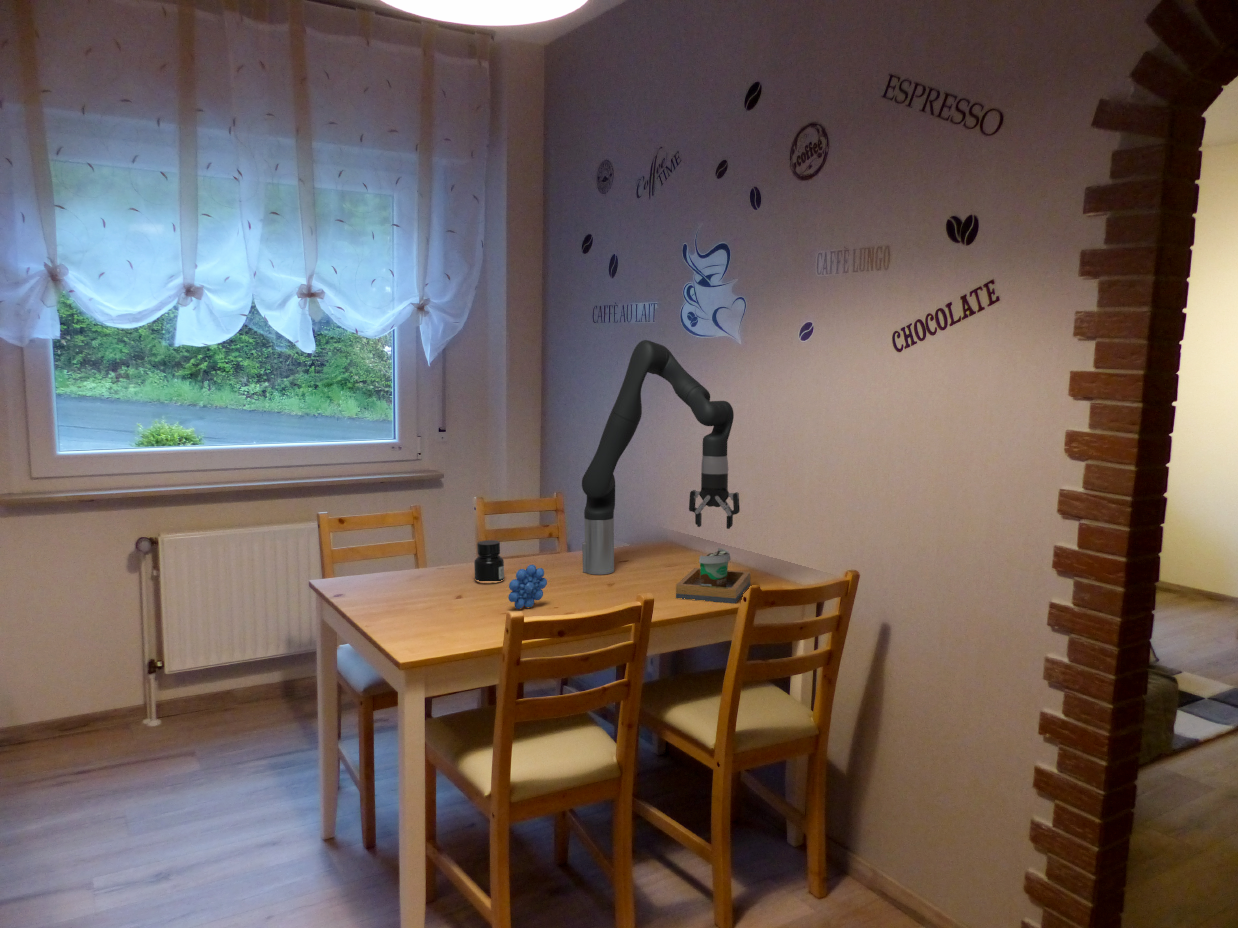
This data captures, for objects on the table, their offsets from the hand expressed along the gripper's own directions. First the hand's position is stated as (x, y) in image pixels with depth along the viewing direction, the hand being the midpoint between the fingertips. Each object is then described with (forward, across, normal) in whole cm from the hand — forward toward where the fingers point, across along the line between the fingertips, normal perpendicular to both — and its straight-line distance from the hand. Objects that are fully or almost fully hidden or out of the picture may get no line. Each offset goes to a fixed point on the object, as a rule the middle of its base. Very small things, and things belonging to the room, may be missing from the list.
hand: (713, 527), depth 261 cm
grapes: (+20, -45, -31) cm, 58 cm away
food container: (+18, +2, 0) cm, 18 cm away
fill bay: (+19, 0, 0) cm, 19 cm away
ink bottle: (+20, -68, -8) cm, 71 cm away
